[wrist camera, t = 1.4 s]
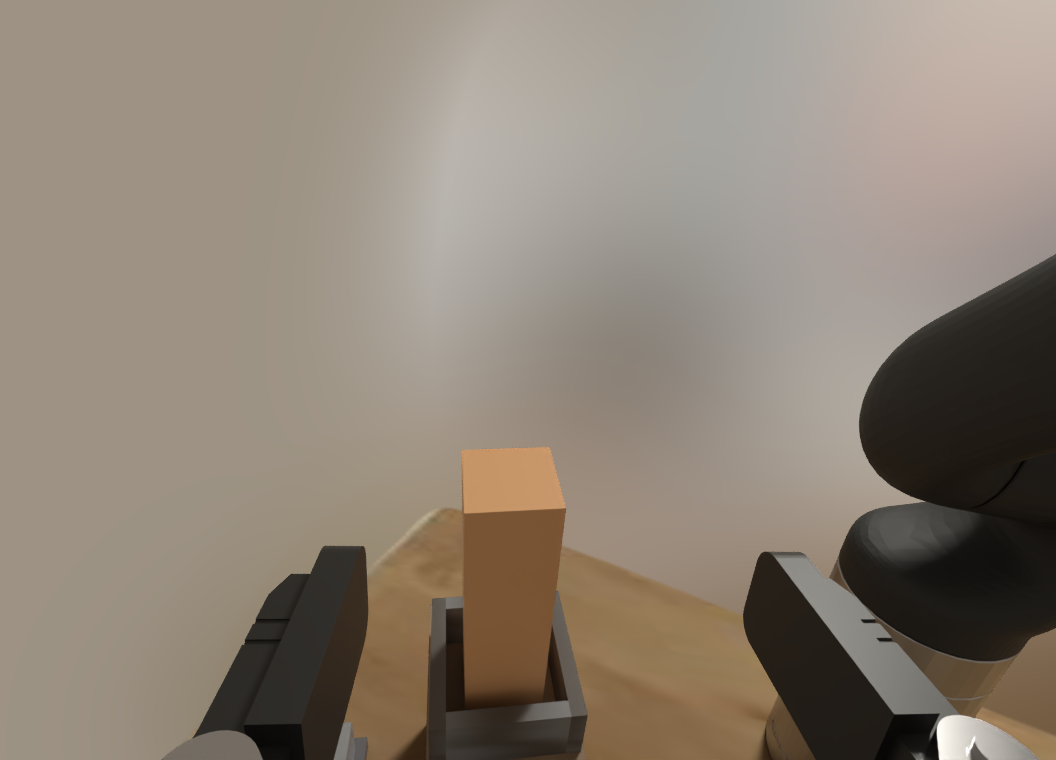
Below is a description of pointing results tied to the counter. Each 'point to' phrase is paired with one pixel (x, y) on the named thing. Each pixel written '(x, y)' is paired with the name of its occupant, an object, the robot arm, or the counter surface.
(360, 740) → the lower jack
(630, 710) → the counter surface
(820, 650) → the robot arm
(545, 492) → the plug
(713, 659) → the counter surface
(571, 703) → the square socket base
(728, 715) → the counter surface
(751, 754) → the counter surface
